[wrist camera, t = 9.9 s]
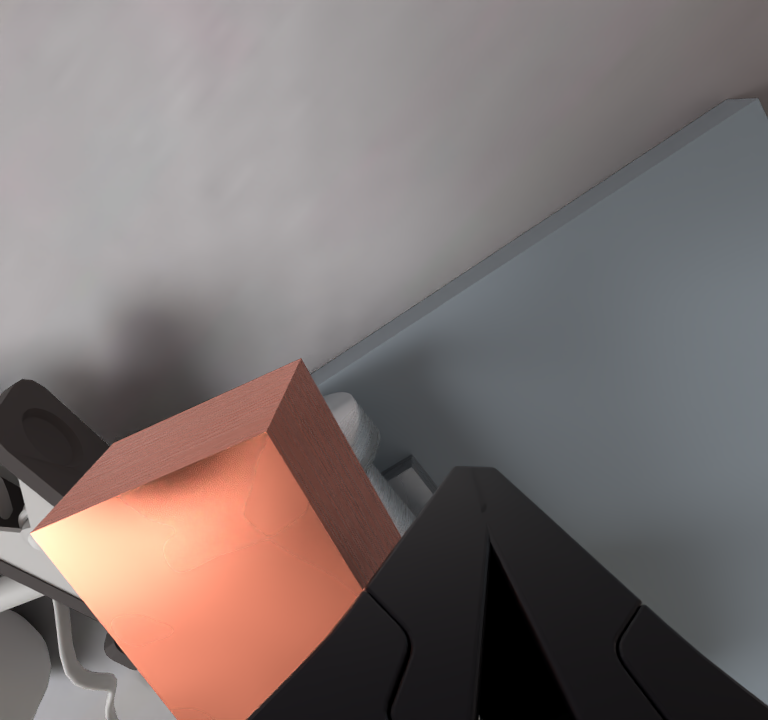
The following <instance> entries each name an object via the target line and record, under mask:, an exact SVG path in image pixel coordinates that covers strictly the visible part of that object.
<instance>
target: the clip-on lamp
mask: <svg viewBox="0 0 768 720" xmlns="http://www.w3.org/2000/svg"><path fill="white" fill-rule="evenodd" d="M108 448H109V446H108V445H107V444H106V443H105V442H104V441H103V440H102V439H100V438H99V437H98V436H97V435H96V434H95V433H94V432H93V431H92V430H91V429H90V428H88V427H87V426H86V425H85V424H84V423H83V422H82V421H81V420H80V419H79V418H78V417H76V416H75V415H74V414H73V413H72V412H71V411H70V410H69V409H68V408H67V407H66V406H64V405H63V404H62V403H61V402H60V401H59V400H58V399H57V398H56V397H55V396H53V395H52V394H51V393H50V392H49V391H48V390H47V389H46V388H45V387H43V386H42V385H40V384H38V383H37V382H35V381H33V380H25V379H22V380H20V381H18V382H17V383H15V384H14V385H12V386H11V387H9V388H8V389H6V390H5V391H4V392H3V393H2V394H1V395H0V574H2V575H3V576H1V577H0V720H33V719H34V716H35V714H36V711H37V709H38V707H39V704H40V702H41V700H42V698H43V696H44V694H45V692H46V689H47V687H48V682H49V677H50V673H51V663H50V657H49V652H48V649H47V645H46V643H45V641H44V639H43V638H42V636H41V635H40V634H39V632H38V631H37V630H36V629H35V628H34V627H33V626H32V625H31V624H30V623H29V622H28V621H27V620H26V619H25V618H23V617H22V616H20V615H19V614H18V613H16V612H13V611H11V610H9V609H10V608H13V607H15V606H18V605H21V604H23V603H26V602H28V601H31V600H34V599H36V598H39V597H41V596H44V595H45V596H47V597H49V598H51V599H52V601H53V606H54V612H55V621H56V630H57V638H58V646H59V653H60V659H61V662H62V665H63V669H64V672H65V674H66V676H67V677H68V678H69V679H70V680H71V682H72V683H73V684H74V685H76V686H79V687H81V688H83V689H87V690H95V691H107V692H108V695H107V700H106V704H105V718H106V720H118V718H117V715H116V711H115V708H114V696H115V692H116V687H117V678H116V677H115V675H114V674H111V673H98V672H91V671H89V670H87V669H84V668H83V667H82V665H81V664H80V663H79V661H78V660H77V658H76V654H75V650H74V646H73V639H72V630H71V621H70V611H69V607H70V608H72V609H74V610H76V611H78V612H80V613H82V614H84V615H86V616H88V617H90V618H92V619H94V620H96V621H98V622H100V621H99V620H98V619H97V617H96V616H95V615H94V614H93V612H92V611H91V610H90V609H89V607H88V606H87V605H86V604H85V602H84V601H83V600H82V598H81V597H80V596H79V595H78V593H77V592H76V591H75V590H74V588H73V587H72V586H71V585H70V583H69V582H68V581H67V579H66V578H65V577H64V576H63V574H62V573H61V572H60V571H59V569H58V568H57V567H56V566H55V564H54V563H53V562H52V560H51V559H50V558H49V557H48V555H47V554H46V553H45V552H44V550H43V549H42V548H41V547H40V545H39V544H38V543H37V542H36V540H35V539H34V538H33V536H32V535H31V534H30V533H31V532H32V531H33V530H34V529H35V527H36V526H37V525H38V524H39V523H40V522H41V521H42V520H43V519H44V518H45V517H46V516H47V514H48V513H49V512H50V511H51V510H52V509H53V508H54V507H55V506H56V505H57V504H58V503H59V501H60V500H61V499H62V498H63V497H64V496H65V495H66V494H67V493H68V492H69V491H70V490H71V488H72V487H73V486H74V485H75V484H76V483H77V482H78V481H79V480H80V479H81V478H82V477H83V475H84V474H85V473H86V472H87V471H88V470H89V469H90V468H91V467H92V466H93V465H94V464H95V462H96V461H97V460H98V459H99V458H100V457H101V456H102V455H103V454H104V453H105V452H106V451H107V449H108ZM104 650H105V652H106V655H107V656H108V657H109V658H110V659H112V660H114V661H116V662H118V663H120V664H122V665H124V666H126V667H127V668H129V669H132V670H137V668H136V667H135V666H134V664H133V663H132V662H131V660H130V659H129V658H128V657H127V655H126V654H125V653H124V652H123V650H122V649H121V648H120V647H119V645H118V644H117V643H116V641H115V640H114V639H113V638H112V636H111V635H110V634H109V633H107V636H106V640H105V643H104Z"/></svg>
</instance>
